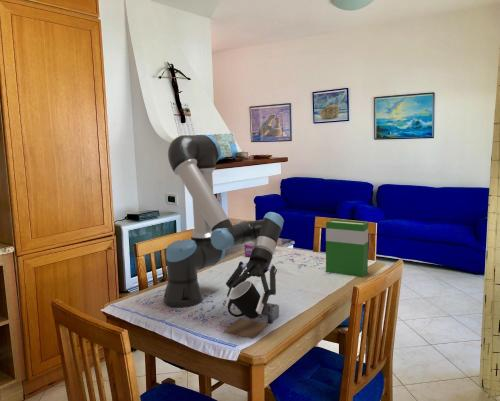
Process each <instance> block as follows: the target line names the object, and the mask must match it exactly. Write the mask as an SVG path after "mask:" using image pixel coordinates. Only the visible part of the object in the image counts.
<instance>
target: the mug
mask: <svg viewBox="0 0 500 401" xmlns="http://www.w3.org/2000/svg"><path fill="white" fill-rule="evenodd" d="M260 297H261V294H260V292H259V291H258V289H257V288H256V286H255V285H254V283H253V282H252V281H251V280H245V281H244V282H242V283H240V284H239V285H237V286H236V287H235V288H234V289H233V290H232V291H231V293H230V295H229V298H230V300H231V301H230V302H229V304H228V308H227V311H228V313H229V314H230V315H231V316H232V317H235V318H242V317H247V318H248V319H249V320H254V319H256V318H258V317H260V316H261V315H263V314H262V312H263V311H264V309H265V305H264V306H263V309H262V312H261V315H260V314H258V313H257V311H256V309H257V306H258V303H259V300H260ZM231 304H232V305H234V306H235V307H236V308H237V309H238V311H240V313H239V314H236V313H233V312H232V311H231V309H230V305H231Z"/></svg>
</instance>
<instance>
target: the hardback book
mask: <svg viewBox="0 0 500 401" xmlns="http://www.w3.org/2000/svg"><path fill="white" fill-rule="evenodd" d="M368 265H369V221H361V220H349V219H347V220H346V219H338V218H337V219H336V218H335V219H334V218H331V219H330V221H326V222H325V272H326V273H330V274H336V275H337V274H338V275H343V276H344V275H346V276H351V277H360V278H364V277H365V276H366V275H367V274H368V273H369V272H368V271H369V268H368V267H369V266H368Z"/></svg>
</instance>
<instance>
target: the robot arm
mask: <svg viewBox="0 0 500 401" xmlns="http://www.w3.org/2000/svg"><path fill="white" fill-rule="evenodd" d="M221 154H222V150H221V146H220V143H219V142H218V140H217V139H215V137H214V136H211V135H208V134H206V135H205V134H196V135H195V134H192V135H191V134H189V135H186V134H185V135H179V136H177V137H175V138H174V139H173V140H172V141H171V142H170V143H169V146H168V151H167V156H168V157H167V158H168V162H169V164H170V167H171V169H172V172H173V174H175V175H176V176H179V178H180V180H181V181H182V183H183V184H184V186H185V187H186V189H187V191H188V193H189V194H190V196H191V198H192V211H193V212H192V214H193V228H194V229H193V232H192V234H191V235H190V239H185V238H184V239H181V240H176V241H173V242H171V243H170V244H168V246H167V247H166V252H165V253H166V254H165V259H166V261H165V262H166V272H167V273H166V275H167V283H166V286H165V287H166V288H165V290H164V295H163V302H164V305H167V306H168V307H171V308H188V307H192V306H196V305H199V304H200V303H201V302H202V301H203V298H204V297H203V291H202V290H201V287H200V284H199V282H198V271H200V270H203V269H206V268H209V267H212V266H215V265H217V264H219V263H220V262H221V261H222V260H223V259H224V258H225V255H226V252H227V251H226V250H228V249H232V248H233V247H236V246H239V245H243V244H245V243H246V242H249V241H255V244H254V247H253V250H252V252H251V255H250V257H249V260H248V262H243V261H239V262H238V265H237V268H235V270H234V272H233V273H232V274H231V275H230V277H229V278H228V280H227V281H226V282H225V286H227V287H228V291H227V294H226V298H227V300H226V301H225V306H226V308H227V309H228V304H229V302H230V301H231V300H230V298H229V295H230V293H231V291H232V290H233V289H234V288H235V287H236V286H237V285H239V284H240V283H242V282H244V281H247V280H248V279H249V278H251V277H257V278H260V281H261V284H262V286H263V291H262V292H261V294H260V296H261V297H260V300H259V303H258V306H257V309H256V311H257V313H258V314H260V315H259V316H261V315H262V314H261V312H262V309H263V306H264V304H265V305H266V304H267V303H268V301H269V299H270V296H276V294H277V291H276V290H277V288H276V286H277V285H276V284H277V283H276V276H277V275H276V274H277V272H278V269H277V267H276V266H275V265H272V266H270V265H271V263H272V260H273V255H274V253H275V250H276V248H277V243H278V242H279V238H280V235H281V233H282V231H283V226H284V222H285V220H284V218H283V217H282V215H280V214H279V213H276V212H273V211H269V212H267V213H265V215H264V216H263V219H259V220H248V221H247V220H243V221H239V222H237V223H235V224H232V222H231V220H230V218H229V217H228V215H227V213H226V212H225V210H224V207H222V205H221V204H220V201H219V200H218V199H217V197H216V195H215V193H214V183H213V182H214V181H213V180H214V178H213V172H214V171H215V169H216V167H217V165H216V164H217V162H218V161H219V160H220V158H221ZM267 272H269V284H268V280H267V277H266V273H267ZM232 306H233V304H231V305H230V310H231V308H232Z"/></svg>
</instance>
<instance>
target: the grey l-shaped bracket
mask: <svg viewBox="0 0 500 401" xmlns="http://www.w3.org/2000/svg"><path fill="white" fill-rule="evenodd" d="M264 305H265V304H264ZM261 315H266V316H267V323H268V324H273V322H275V320H277V319H278V318H280V306H279V304H277V303H270V302H267V304H266V305H265V309H264V311H263V312H262V314H261Z"/></svg>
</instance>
